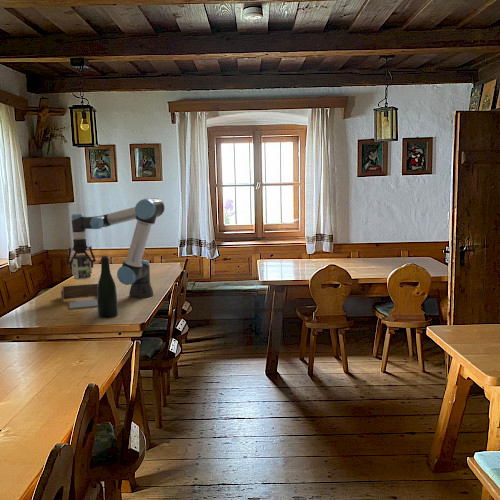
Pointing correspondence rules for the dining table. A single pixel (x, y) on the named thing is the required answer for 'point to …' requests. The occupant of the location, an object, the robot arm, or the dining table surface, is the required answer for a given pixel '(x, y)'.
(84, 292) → the walnut u-shaped frame
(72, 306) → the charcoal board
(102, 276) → the green wine bottle
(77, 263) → the coffee can
